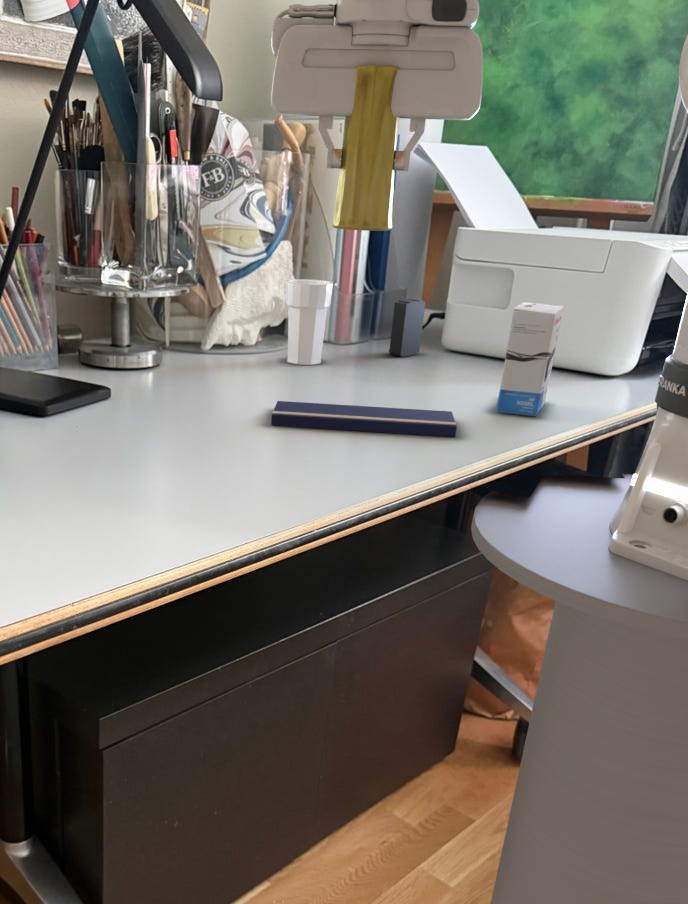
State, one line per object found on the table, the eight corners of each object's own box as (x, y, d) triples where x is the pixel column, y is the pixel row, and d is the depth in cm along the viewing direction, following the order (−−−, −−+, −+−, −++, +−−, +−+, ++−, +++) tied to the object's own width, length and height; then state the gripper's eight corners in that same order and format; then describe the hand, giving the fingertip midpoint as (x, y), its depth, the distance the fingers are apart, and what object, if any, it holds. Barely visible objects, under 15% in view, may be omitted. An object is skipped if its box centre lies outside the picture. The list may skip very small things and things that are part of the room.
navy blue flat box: (450, 421, 107) (452, 410, 106) (455, 437, 101) (457, 425, 100) (276, 410, 109) (277, 399, 109) (271, 425, 103) (271, 413, 103)
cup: (291, 355, 141) (296, 278, 136) (332, 360, 139) (339, 281, 134) (274, 362, 136) (279, 282, 131) (316, 367, 134) (323, 286, 129)
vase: (379, 232, 93) (396, 64, 86) (322, 228, 96) (335, 65, 89) (399, 229, 98) (417, 70, 91) (344, 225, 100) (358, 70, 94)
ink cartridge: (407, 351, 147) (413, 298, 143) (419, 354, 146) (426, 299, 142) (388, 355, 144) (394, 300, 140) (400, 357, 142) (406, 302, 139)
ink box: (537, 418, 110) (557, 312, 104) (494, 412, 111) (511, 308, 106) (546, 403, 117) (565, 304, 111) (505, 398, 118) (522, 300, 113)
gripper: (270, -2, 86) (262, 166, 93) (497, 1, 84) (472, 173, 90) (276, 8, 92) (267, 166, 98) (488, 11, 89) (466, 173, 96)
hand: (367, 169), depth 94 cm, fingers closed on vase, 5 cm apart
